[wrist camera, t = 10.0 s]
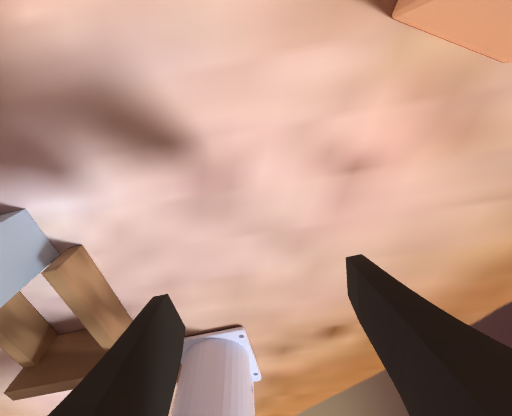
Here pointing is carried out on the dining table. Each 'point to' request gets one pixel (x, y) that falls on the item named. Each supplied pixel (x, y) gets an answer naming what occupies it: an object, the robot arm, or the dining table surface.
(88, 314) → the walnut lane
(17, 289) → the tethered block
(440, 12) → the soap dispenser
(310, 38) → the dining table surface
